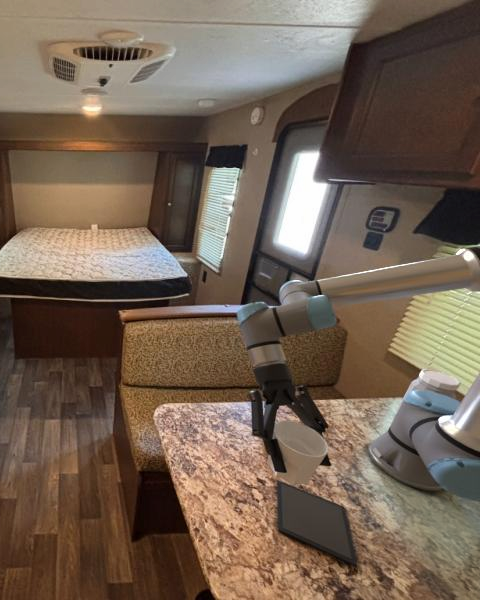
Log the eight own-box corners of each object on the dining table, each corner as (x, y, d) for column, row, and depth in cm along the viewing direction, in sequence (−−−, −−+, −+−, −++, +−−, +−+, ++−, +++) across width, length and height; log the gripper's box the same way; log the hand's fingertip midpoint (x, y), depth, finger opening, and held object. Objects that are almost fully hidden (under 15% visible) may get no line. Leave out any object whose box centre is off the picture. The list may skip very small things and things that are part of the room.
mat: (343, 508, 76) (344, 506, 76) (356, 567, 64) (357, 565, 64) (276, 481, 82) (277, 479, 82) (278, 531, 71) (279, 529, 70)
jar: (444, 436, 97) (474, 389, 90) (406, 429, 100) (432, 383, 93) (422, 414, 106) (448, 370, 99) (388, 408, 108) (410, 364, 101)
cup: (325, 489, 68) (340, 455, 64) (281, 491, 67) (294, 457, 63) (293, 450, 77) (304, 419, 73) (253, 452, 76) (263, 420, 72)
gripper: (298, 364, 81) (333, 460, 73) (218, 372, 77) (245, 473, 69) (323, 358, 74) (364, 463, 66) (235, 366, 71) (268, 478, 62)
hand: (303, 468), depth 68 cm, fingers closed on cup, 10 cm apart
